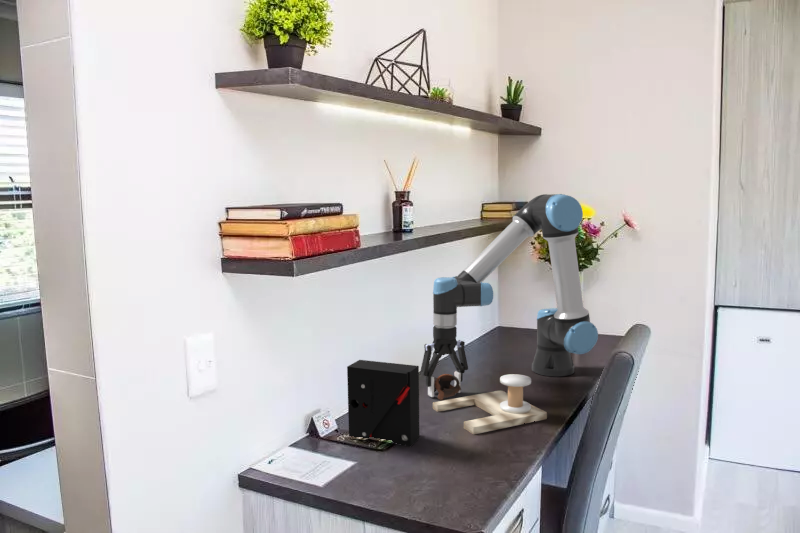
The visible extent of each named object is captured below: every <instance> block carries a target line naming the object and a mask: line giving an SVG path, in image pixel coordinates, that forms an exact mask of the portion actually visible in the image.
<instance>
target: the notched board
mask: <svg viewBox="0 0 800 533" xmlns="http://www.w3.org/2000/svg"><path fill="white" fill-rule="evenodd" d="M507 400H508V392H505V391H504V390H500V389H499V390H495V391H488V392H483V393H478V394H477V393H476V394H472V395H467V396H466V395H465V396H462V397H456V398H449V399H443V400H438V401H433V402H432V409H433V410H434V411H436V413H437V412H444V411H450V410H455V409H459V408H464V407H469V406H475V407H478V408H479V409H481V410H482V411H484V412H486V413H488V414H490V416H489V415H488V416H485V417H480V418H475V419H471V420H465V421H463V429H464V430H466V431H467V432H469V433H470V434H472V435H477V434H482V433H487V432H492V431H496V430H501V429H502V430H503V429H506V428H510V427H515V426H520V425H525V424H529V423H534V421H535V422H539V421H545V420H547V418H548V413H547V411H546V410H543V409H541V408H538V407H537V406H535V405H532V404H530V403H529V404H530V405H531V410H530V411H529V412H527V413H521V414H514V413H507V412H504V411H502V410H501V409H500V403H501V402H503V401H507ZM524 423H525V424H524Z"/></svg>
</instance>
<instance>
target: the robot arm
mask: <svg viewBox="0 0 800 533" xmlns="http://www.w3.org/2000/svg"><path fill="white" fill-rule="evenodd" d="M583 215H584V213H583V208H582V206H581V204H580V202H579V201H578V200H577V199H576V198H575V197H573V196H572V195H569V194H564V193H563V194H562V193H557V194H554V193H553V194H552V193H551V194H548V193H546V194H540V195H537V196H535V197H534V198H532V199H530V200H529V201H528V202H527V203H526V204H525V205H523V206H522V207H521V208H520V209H519V210H518V211H517V213H515V214H514V215H513V216H512V222H510V224H508V225H507V226H506V227H505V229H503V230H502V232H500V233H499V234H498V235H497V236H496V237H495V238H494V240H492V241H491V243H489V244H488V246H486V247H485V248H484V249H483V250H482V251H481V252H480V253H479V254H478V255H477V256H476V257H475V258H474V259H473V260H472V261H471V262H470V263H469V264H468V265H467V266H466V267H465V268H464V269H463V270H462V271H461V272H460V273H459V274H458V275H455V276H450V277H444V276H443V277H437V278H435V279H434V280H433V290H432V294H433V296H432V297H433V298H432V299H433V300H432V301H433V303H432V304H433V311H432V312H433V315H432V316H433V317H432V318H433V319H432V321H433V325H434V326H433V328H432V338H433V341H432V343H430V344H427V343H425V344H423V345H424V347H423V348H424V353H423V357H422V361H421V368H420V370H419V375H420V374H421V375H422V376H424V377H425V386H426V387H427V396H429V397H431V398H434V397H435V392H434V377H435V376H434V377H433V374H434V372H435V370H436V367H437V365H438V363H439V361H440V359H441V358H442V356H444V355H448V356H449V357H450V359H451V361H452V363H453V365H454V368H455V369H456V370H455V371H454V374H453V375H454V376H455V377H457V378H458V380H459V383H460V384H459V385H460V387H461V383H462V382H463V377H464V376H463V375H464V374H465V372H466V371H467V370H469V366H468V360H467V355H466V350H465V346H466V342H465V341H463V340H461V339H458V340H457V329H458V328H457V325H458V324H457V322H458V318H457V315H458V310H457V309H458V308H462V307H463V308H464V307H466V308H467V307H483V306H484V307H485V306H489V305H491V304H492V303H493V300H494V290H493V289H494V288H493V286H492V284H490V283H489V282H484V281H485V280H486V279H488V277H489V276H490V275H491V274H492V273H493V272H494V271H496V269H497V268H498V267H499V266H500V265H501V264H502V263H503V262H504V261H505V260H506V259H507V258H508V257H509V256H510V255H511V254H512V253H513V252H514V251H515V250H516V249H517V248H518V247H519V246H520V245H521V244H522V243H524V241H525V240H526V239H527V238H529V237H533V236H535V234H536V233H538V232H539V231H541V232H542V233H541V235H542V238H543V239H544V240H545V241H547V244H548V250H549V257H550V263H551V264H550V265H551V271H552V272H551V273H552V277H553V278H552V279H553V280H552V281H553V285H554V292H555V293H554V294H555V301H556V306H557V307H553V308H552V307H551V308H550V307H549V308H542V309H540V310H538V311H537V316H536V329H537V330H536V351H535V353H534V354H535V355H534V357H533V361H532V362H531V371H532V373H535V374H538V375H540V376H547V377H567V376H568V377H569V376H571V375H573V374H574V373H575V363H574V360H573V356H572V354H575V355H584V354H587V353H589V352H590V351H591V350H593V349H594V348H593V347H594V346H596V344H597V342H598V339H599V332H598V328H597V327H596V325H595V324H594V323H593V322H591V319H590V318H591V317H590V312H589V310H588V309H586V308H585V306H584V301H583V292H582V286H581V285H582V284H581V278H580V271H579V263H578V254H577V247H576V240H575V238H576V237H578V236H577V235H578V234H579V233H580V232H579V226H580V225H581V222H582V220H583V218H584V217H583ZM456 347H457V353H458V356H457V353H456V350H455V348H456ZM433 350H434V351H433ZM453 381H454V382H453V383H454V384H453V386H454V387H455V386H456V384H457V383H456V381H455V380H453ZM461 391H462V389H461V390H459V392H458V393H457V394H460V393H461Z"/></svg>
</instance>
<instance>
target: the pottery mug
mask: <svg viewBox="0 0 800 533" xmlns="http://www.w3.org/2000/svg"><path fill="white" fill-rule="evenodd" d="M432 376H433V375H432ZM433 377H434V393H436V391H437V393H438V395H437V399H438V400H439V401H444V399H447V398H450V397H454V396H456V394H459V393H458V392H459V390H461V391H462V388H461V387H460V385H459V384H460V383H459V380H458V378H457V377H455V376H454V374H450V373H443V374H440V375H439V376H437V377H435V376H433ZM454 380H455V381H456V383H457V384H456V386H455V387H454V385H452V384H451V383H452V381H454Z"/></svg>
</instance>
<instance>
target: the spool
mask: <svg viewBox="0 0 800 533" xmlns="http://www.w3.org/2000/svg"><path fill="white" fill-rule="evenodd" d="M499 383H500V384H501V385H504V386H506V387H507V393H508V400H507V401H503V402H501V403H500V409H501V410H502V411H504V412H507V413H514V414H521V413H527V412H529V411H530V410H531V405H532V404H531V405H530V402H527V401H526V400H524V387H528V386H530V385H531V384H532V378H531V377H530V376H528V375H524V374H516V373H515V374H513V373H511V374H504V375H501V376H500V377H499Z"/></svg>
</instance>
